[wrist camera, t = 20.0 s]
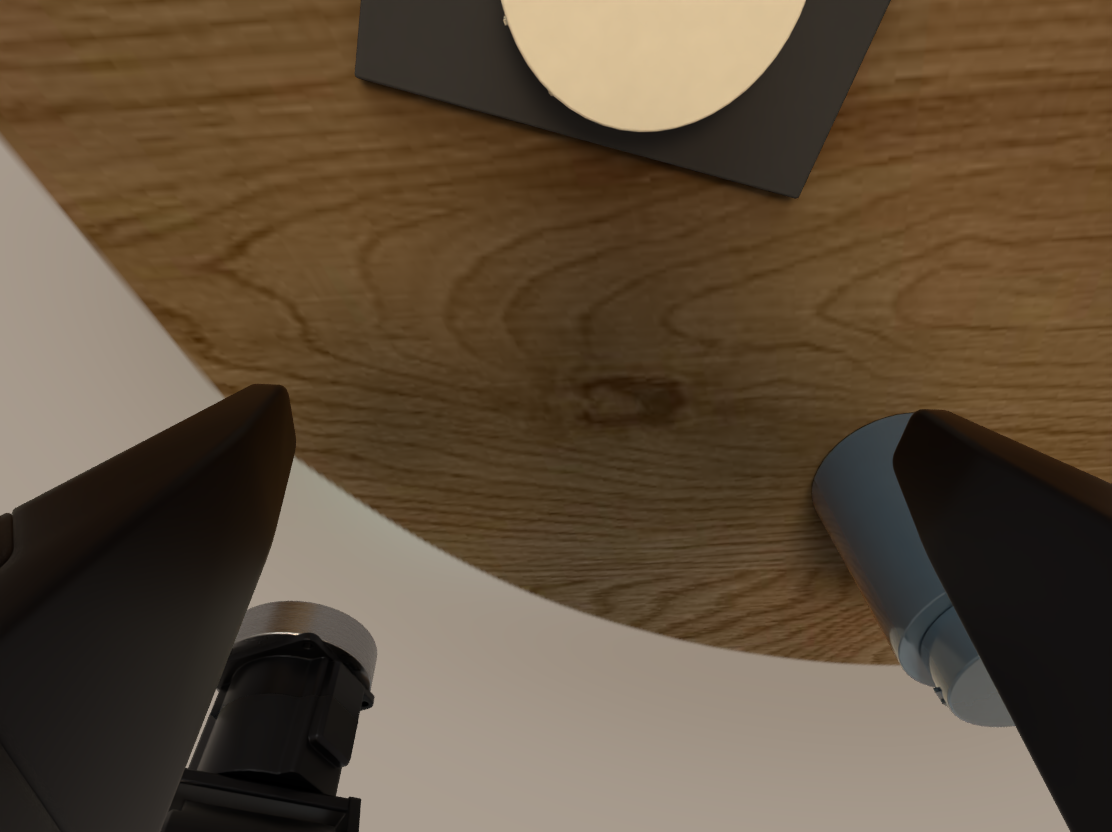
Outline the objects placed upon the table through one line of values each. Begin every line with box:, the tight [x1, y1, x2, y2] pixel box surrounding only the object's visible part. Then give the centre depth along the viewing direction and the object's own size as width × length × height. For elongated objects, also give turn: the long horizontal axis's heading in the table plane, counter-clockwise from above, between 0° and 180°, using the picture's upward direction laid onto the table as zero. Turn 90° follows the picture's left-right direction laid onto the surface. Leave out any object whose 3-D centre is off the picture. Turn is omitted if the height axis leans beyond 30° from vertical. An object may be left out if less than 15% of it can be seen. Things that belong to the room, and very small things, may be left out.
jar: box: [812, 413, 1015, 727], centre depth 22 cm, size 6×6×9 cm
